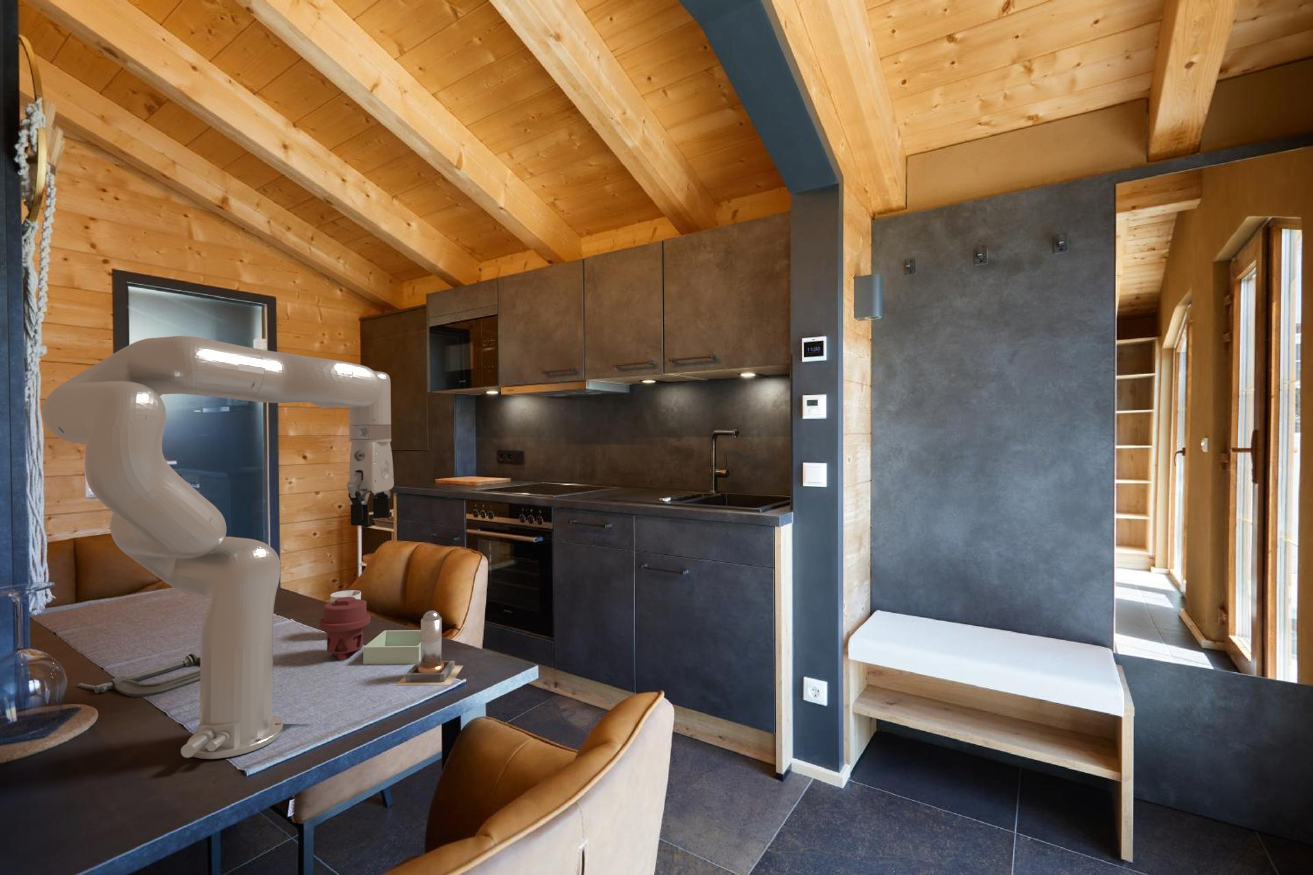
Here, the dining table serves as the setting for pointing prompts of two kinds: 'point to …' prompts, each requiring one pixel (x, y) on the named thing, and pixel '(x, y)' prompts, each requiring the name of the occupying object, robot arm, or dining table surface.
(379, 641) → the bin
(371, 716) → the dining table surface
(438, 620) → the grey rounded tall piece
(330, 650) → the mechanical component
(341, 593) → the white cup
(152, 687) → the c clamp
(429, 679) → the socket pad
